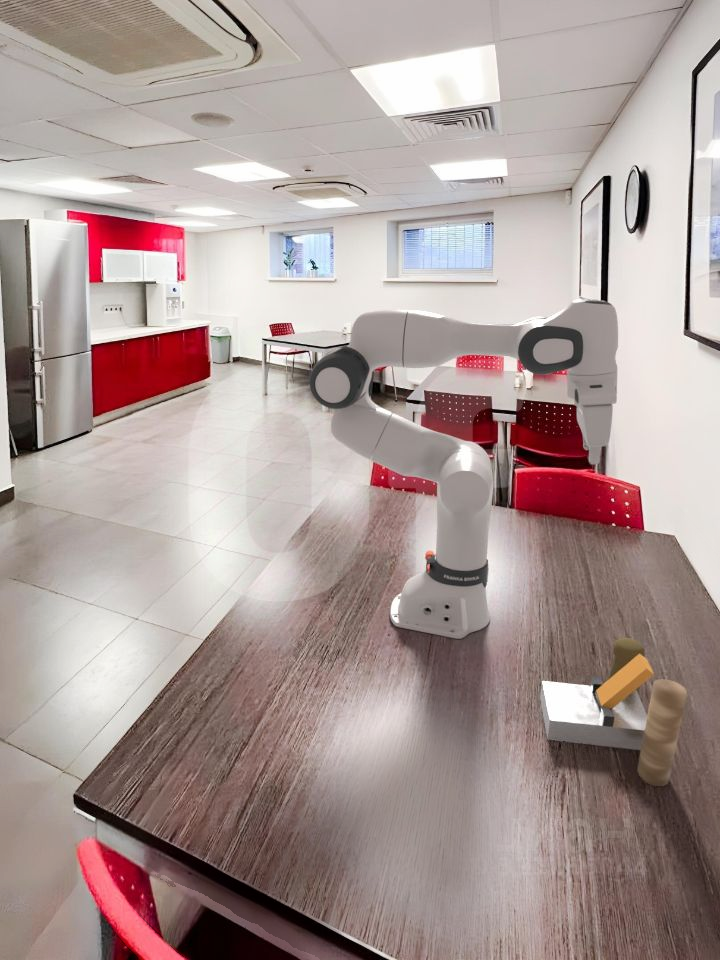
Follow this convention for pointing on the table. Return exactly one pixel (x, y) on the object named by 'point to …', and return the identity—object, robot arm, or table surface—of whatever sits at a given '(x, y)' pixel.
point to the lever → (624, 682)
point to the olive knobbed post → (625, 655)
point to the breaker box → (591, 716)
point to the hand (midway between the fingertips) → (591, 455)
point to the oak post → (661, 731)
